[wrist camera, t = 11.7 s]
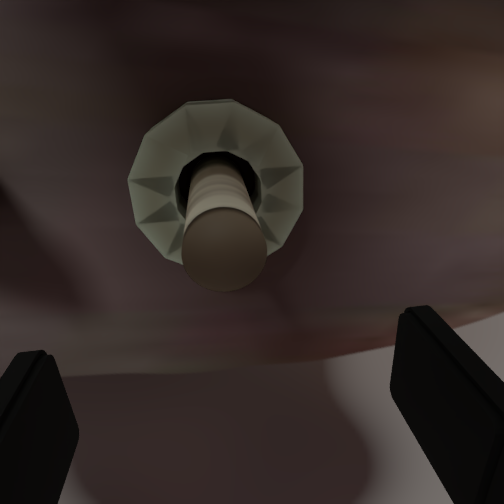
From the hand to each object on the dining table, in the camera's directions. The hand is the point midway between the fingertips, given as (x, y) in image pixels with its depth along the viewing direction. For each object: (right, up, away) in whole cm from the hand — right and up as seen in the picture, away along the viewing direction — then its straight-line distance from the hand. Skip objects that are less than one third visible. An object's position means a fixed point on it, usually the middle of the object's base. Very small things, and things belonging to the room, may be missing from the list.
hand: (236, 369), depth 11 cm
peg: (-2, +9, +20) cm, 22 cm away
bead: (-2, +9, +20) cm, 22 cm away
